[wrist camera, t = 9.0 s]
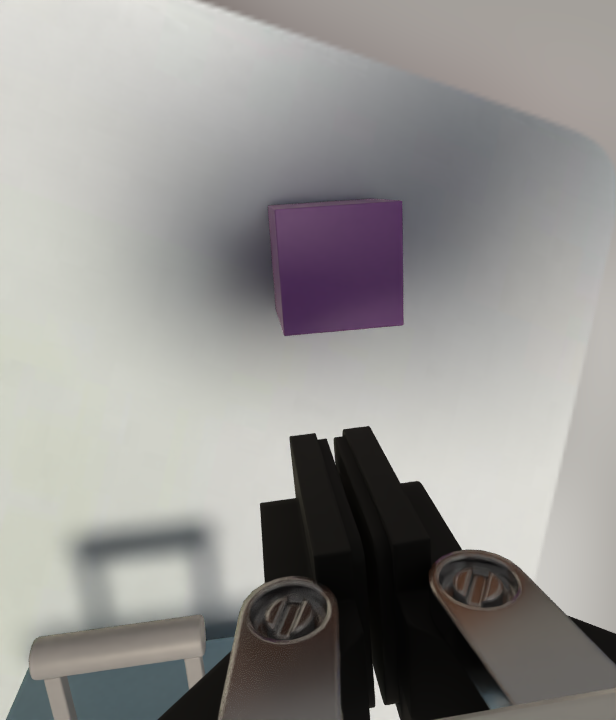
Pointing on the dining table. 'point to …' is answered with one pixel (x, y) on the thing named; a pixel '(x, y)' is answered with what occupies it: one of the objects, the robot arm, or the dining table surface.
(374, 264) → the cube
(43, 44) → the dining table surface
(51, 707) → the drawer
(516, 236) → the dining table surface
